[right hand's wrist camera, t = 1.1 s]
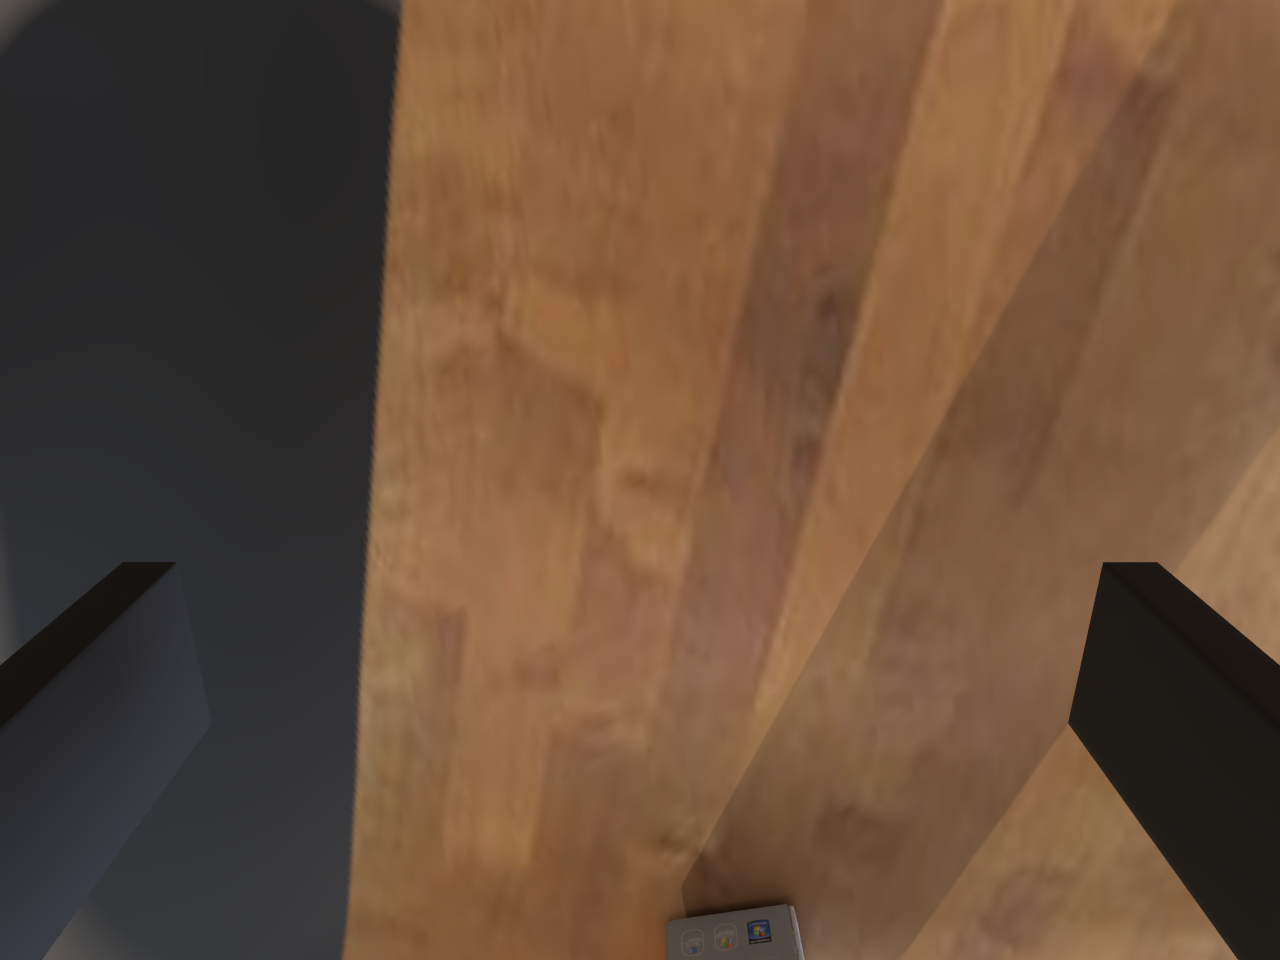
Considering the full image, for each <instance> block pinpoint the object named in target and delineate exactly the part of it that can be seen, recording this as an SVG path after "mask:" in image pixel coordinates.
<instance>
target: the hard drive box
mask: <svg viewBox="0 0 1280 960" xmlns="http://www.w3.org/2000/svg"><path fill="white" fill-rule="evenodd" d="M665 960H804V954H803V949H802V943H801V938H800V932H799V928H798V923H797V918H796V914H795V910H794V907H793V906H788V905H787V904H782V905H776V906H767V907H761V908H754V909H748V910H741V911H733V912H727V913H720V914H712V915H705V916H698V917H691V918H684V919H677V920H670V921H668V922H666V924H665Z"/></svg>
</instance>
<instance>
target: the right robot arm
mask: <svg viewBox="0 0 1280 960" xmlns="http://www.w3.org/2000/svg"><path fill="white" fill-rule="evenodd" d="M211 724H212V722H211V718H210V713H209V708H208V703H207V699H206V694H205V690H204V685H203V680H202V676H201V671H200V667H199V662H198V657H197V653H196V648H195V644H194V639H193V635H192V630H191V625H190V621H189V616H188V612H187V607H186V602H185V598H184V593H183V589H182V584H181V580H180V575H179V570H178V566H177V562H123V563H121V564H120V565H119V566H118V567H117V568H115V569H114V570H113V571H112V572H111V573H109V574H108V575H107V576H106V577H105V578H104V579H102V580H101V581H100V582H99V583H98V584H96V585H95V586H94V587H93V588H92V589H90V590H89V591H88V592H87V593H86V594H85V595H83V596H82V597H81V598H80V599H79V600H77V601H76V602H75V603H74V604H73V605H71V606H70V607H69V608H68V609H67V610H65V611H64V612H63V613H62V614H61V615H60V616H58V617H57V618H56V619H55V620H54V621H53V622H51V623H50V624H49V625H48V626H47V627H45V628H44V629H43V630H42V631H41V632H39V633H38V634H37V635H36V636H35V637H33V638H32V639H31V640H30V641H29V642H28V643H26V644H25V645H24V646H23V647H22V648H20V649H19V650H18V651H17V652H16V653H14V654H13V655H12V656H11V657H10V658H8V659H7V660H6V661H5V662H4V663H3V664H1V665H0V960H42V959H43V957H44V956H45V955H46V953H47V952H48V951H49V949H50V948H51V946H52V945H53V944H54V942H55V941H56V939H57V938H58V937H59V935H60V934H61V932H62V931H63V930H64V928H65V927H66V925H67V924H68V923H69V921H70V920H71V918H72V917H73V916H74V914H75V913H76V912H77V910H78V909H79V907H80V906H81V905H82V903H83V902H84V900H85V899H86V898H87V896H88V895H89V893H90V892H91V891H92V889H93V888H94V886H95V885H96V884H97V882H98V881H99V880H100V878H101V877H102V875H103V874H104V873H105V871H106V870H107V868H108V867H109V866H110V864H111V863H112V861H113V860H114V859H115V857H116V856H117V854H118V853H119V852H120V850H121V849H122V847H123V846H124V845H125V843H126V842H127V841H128V839H129V838H130V836H131V835H132V834H133V832H134V831H135V829H136V828H137V827H138V825H139V824H140V822H141V821H142V820H143V818H144V817H145V815H146V814H147V813H148V811H149V810H150V808H151V807H152V806H153V804H154V803H155V802H156V800H157V799H158V797H159V796H160V794H161V793H162V792H163V790H164V789H165V788H166V786H167V785H168V783H169V782H170V781H171V779H172V778H173V776H174V775H175V774H176V772H177V771H178V770H179V768H180V767H181V765H182V764H183V763H184V761H185V760H186V758H187V757H188V756H189V754H190V753H191V751H192V750H193V749H194V747H195V746H196V744H197V743H198V742H199V740H200V739H201V737H202V736H203V735H204V733H205V732H206V730H207V729H208V728H209V726H210V725H211ZM1068 724H1069V725H1070V726H1071V728H1072V729H1073V731H1074V732H1075V733H1076V735H1077V736H1078V737H1079V739H1080V740H1081V742H1082V743H1083V744H1084V746H1085V747H1086V749H1087V750H1088V751H1089V753H1090V754H1091V756H1092V757H1093V758H1094V760H1095V761H1096V763H1097V764H1098V765H1099V767H1100V768H1101V770H1102V771H1103V772H1104V774H1105V775H1106V776H1107V778H1108V779H1109V781H1110V782H1111V783H1112V785H1113V786H1114V788H1115V789H1116V790H1117V792H1118V793H1119V795H1120V796H1121V797H1122V799H1123V800H1124V802H1125V803H1126V804H1127V806H1128V807H1129V808H1130V810H1131V811H1132V813H1133V814H1134V815H1135V817H1136V818H1137V820H1138V821H1139V822H1140V824H1141V825H1142V827H1143V828H1144V829H1145V831H1146V832H1147V834H1148V835H1149V836H1150V838H1151V839H1152V841H1153V842H1154V843H1155V845H1156V846H1157V847H1158V849H1159V850H1160V852H1161V853H1162V854H1163V856H1164V857H1165V859H1166V860H1167V861H1168V863H1169V864H1170V866H1171V867H1172V868H1173V870H1174V871H1175V873H1176V874H1177V875H1178V877H1179V878H1180V880H1181V881H1182V882H1183V884H1184V885H1185V886H1186V888H1187V889H1188V891H1189V892H1190V893H1191V895H1192V896H1193V898H1194V899H1195V900H1196V902H1197V903H1198V905H1199V906H1200V907H1201V909H1202V910H1203V912H1204V913H1205V914H1206V916H1207V917H1208V919H1209V920H1210V921H1211V923H1212V924H1213V925H1214V927H1215V928H1216V930H1217V931H1218V932H1219V934H1220V935H1221V937H1222V938H1223V939H1224V941H1225V942H1226V944H1227V945H1228V946H1229V948H1230V949H1231V951H1232V952H1233V953H1234V955H1235V956H1236V957H1237V959H1238V960H1280V665H1279V664H1277V663H1276V662H1275V661H1274V660H1273V659H1272V658H1270V657H1269V656H1268V655H1267V654H1266V653H1264V652H1263V651H1262V650H1261V649H1260V648H1258V647H1257V646H1256V645H1255V644H1254V643H1253V642H1251V641H1250V640H1249V639H1248V638H1247V637H1245V636H1244V635H1243V634H1242V633H1241V632H1239V631H1238V630H1237V629H1236V628H1235V627H1234V626H1232V625H1231V624H1230V623H1229V622H1228V621H1226V620H1225V619H1224V618H1223V617H1222V616H1220V615H1219V614H1218V613H1217V612H1216V611H1214V610H1213V609H1212V608H1211V607H1210V606H1209V605H1207V604H1206V603H1205V602H1204V601H1203V600H1201V599H1200V598H1199V597H1198V596H1197V595H1195V594H1194V593H1193V592H1192V591H1191V590H1190V589H1188V588H1187V587H1186V586H1185V585H1184V584H1182V583H1181V582H1180V581H1179V580H1178V579H1176V578H1175V577H1174V576H1173V575H1172V574H1171V573H1169V572H1168V571H1167V570H1166V569H1165V568H1163V567H1162V566H1161V565H1160V564H1159V563H1157V562H1103V566H1102V570H1101V575H1100V579H1099V584H1098V589H1097V593H1096V598H1095V602H1094V607H1093V612H1092V616H1091V621H1090V625H1089V630H1088V634H1087V639H1086V644H1085V648H1084V653H1083V657H1082V662H1081V667H1080V671H1079V676H1078V680H1077V685H1076V690H1075V694H1074V699H1073V703H1072V708H1071V713H1070V717H1069V722H1068Z"/></svg>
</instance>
